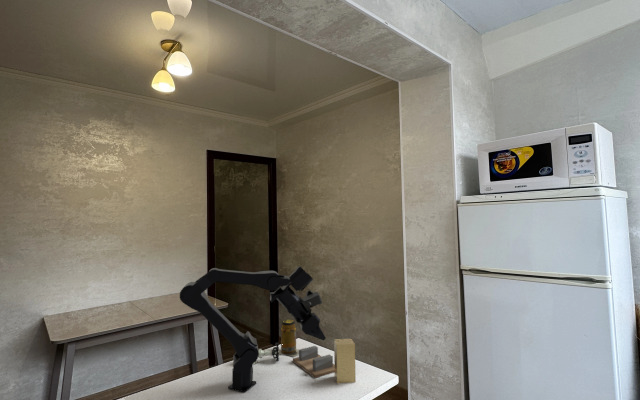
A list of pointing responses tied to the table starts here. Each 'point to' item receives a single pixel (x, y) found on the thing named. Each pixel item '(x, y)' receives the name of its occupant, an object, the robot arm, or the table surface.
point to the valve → (267, 352)
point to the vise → (315, 362)
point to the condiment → (288, 338)
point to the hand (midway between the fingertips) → (321, 334)
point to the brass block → (344, 360)
